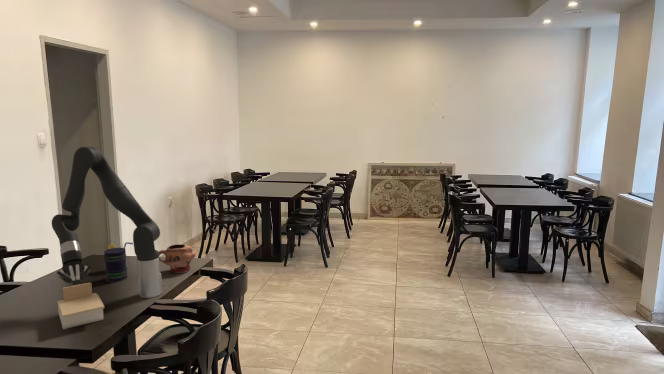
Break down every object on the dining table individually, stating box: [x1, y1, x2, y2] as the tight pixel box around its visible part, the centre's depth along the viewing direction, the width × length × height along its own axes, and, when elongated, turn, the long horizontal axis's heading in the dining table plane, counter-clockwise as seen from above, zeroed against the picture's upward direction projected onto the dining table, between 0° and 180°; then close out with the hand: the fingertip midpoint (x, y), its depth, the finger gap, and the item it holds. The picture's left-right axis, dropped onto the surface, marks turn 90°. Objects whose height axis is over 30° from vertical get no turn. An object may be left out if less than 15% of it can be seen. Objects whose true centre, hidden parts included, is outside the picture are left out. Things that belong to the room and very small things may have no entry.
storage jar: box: [103, 247, 128, 283], centre depth 220 cm, size 10×10×15 cm
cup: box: [106, 241, 134, 252], centre depth 234 cm, size 14×8×15 cm, turn 95°
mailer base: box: [57, 292, 105, 330], centre depth 176 cm, size 14×16×6 cm
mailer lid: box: [57, 282, 105, 318], centre depth 172 cm, size 14×16×6 cm
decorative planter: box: [158, 243, 197, 274], centre depth 231 cm, size 20×12×14 cm, turn 103°
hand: (77, 289), depth 178 cm, fingers closed
